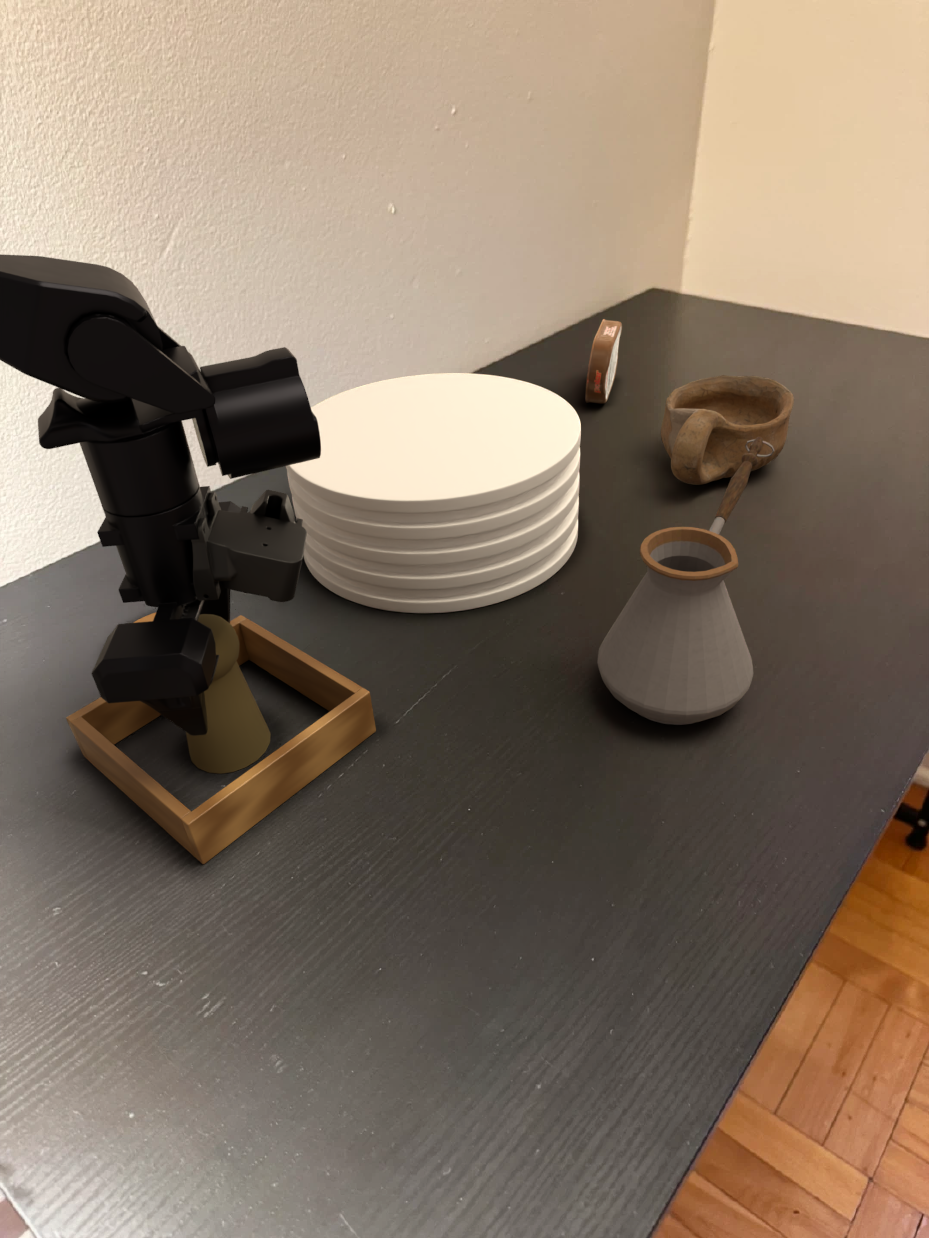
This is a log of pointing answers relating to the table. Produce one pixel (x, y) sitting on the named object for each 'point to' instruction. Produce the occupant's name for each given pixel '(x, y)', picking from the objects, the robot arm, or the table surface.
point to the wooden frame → (264, 781)
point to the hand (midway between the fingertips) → (211, 688)
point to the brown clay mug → (723, 425)
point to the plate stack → (440, 491)
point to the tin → (603, 361)
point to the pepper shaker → (228, 711)
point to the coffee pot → (682, 623)
